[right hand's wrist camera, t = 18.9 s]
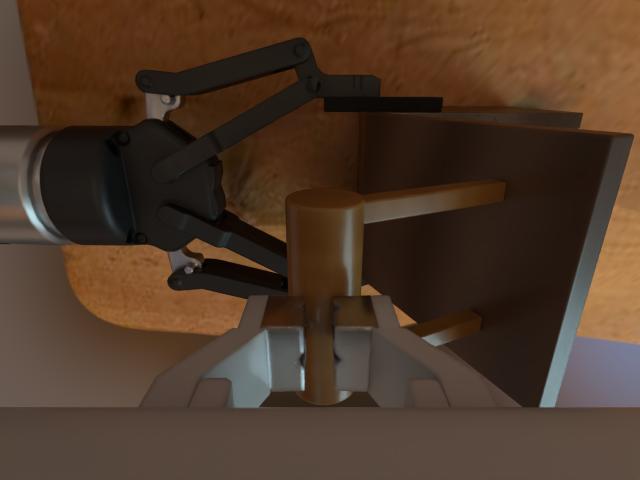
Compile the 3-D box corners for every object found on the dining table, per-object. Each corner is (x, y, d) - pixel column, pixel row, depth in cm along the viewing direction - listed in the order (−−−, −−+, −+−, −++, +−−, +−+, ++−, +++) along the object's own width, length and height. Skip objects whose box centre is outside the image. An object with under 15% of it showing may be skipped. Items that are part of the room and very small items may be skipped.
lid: (636, 133, 10) (349, 155, 7) (555, 408, 13) (338, 518, 10) (382, 112, 20) (215, 116, 16) (372, 273, 23) (232, 304, 20)
